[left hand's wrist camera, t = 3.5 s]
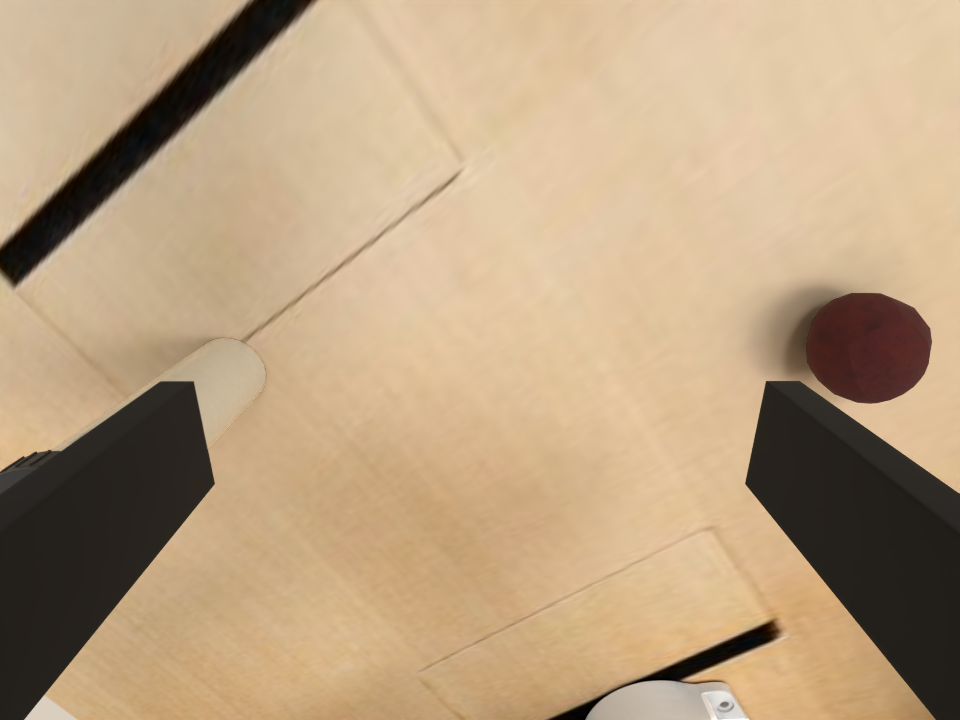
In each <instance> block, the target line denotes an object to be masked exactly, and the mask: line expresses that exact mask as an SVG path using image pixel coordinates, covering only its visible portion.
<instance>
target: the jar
mask: <svg viewBox="0 0 960 720" xmlns="http://www.w3.org/2000/svg"><path fill="white" fill-rule="evenodd" d="M160 381H194V384H195V389H196V394H197V399H198V404H199V409H200V414H201V419H202V424H203V429H204V433H205V438H206V443H207V448H208V449H209V448H210V447H211V446H212V445H213V444H214V443H215V442H216V440H217V439H218V438H219V437H220V436H221V435H222V434H223V433H224V432H225V431H226V430H227V429H228V428H229V426H230V425H231V424H232V423H233V422H234V421H235V420H236V419H237V418H238V417H239V416H240V415H241V413H242V412H243V411H244V410H245V409H246V408H247V407H248V406H249V405H250V404H251V403H252V402H253V401H254V399H255V398H256V397H257V396H258V395H259V394H260V393H261V391H262V390H263V388H264V386H265V382H266V370H265V366H264V364H263V361H262V360H261V358H260V356H259V355H258V354H257V353H256V352H255V351H254V350H253V349H252V348H251V347H250V346H248V345H247V344H245V343H243V342H241V341H238V340H234V339H229V338H220V339H215V340H212V341H210V342H208V343H206V344H205V345H203V346H202V347H200V348H199V349H197V350H196V351H194V352H193V353H191V354H190V355H189V356H187V357H186V358H184V359H183V360H181V361H180V362H178V363H177V364H175V365H174V366H172V367H171V368H170V369H168V370H167V371H165V372H164V373H162V374H161V375H159V376H158V377H156V378H155V379H154V380H152V381H151V382H149V383H148V384H146V385H145V386H143V387H142V388H140V389H139V390H137V391H136V392H135V393H133V394H132V395H130V396H129V397H127V398H126V399H124V400H123V401H121V402H120V403H118V404H117V405H116V406H114V407H113V408H111V409H110V410H108V411H107V412H105V413H104V414H102V415H101V416H99V417H98V418H97V419H95V420H94V421H92V422H91V423H89V424H88V425H86V426H85V427H83V428H82V429H80V430H79V431H78V432H76V433H75V434H73V435H72V436H70V437H69V438H67V439H66V440H64V441H63V442H61V443H60V444H59V445H57V446H56V447H54V448H53V449H51V451H62V450H64V449H65V448H66V447H68V446H69V445H71V444H72V443H73V442H75V441H76V440H78V439H79V438H81V437H82V436H83V435H85V434H86V433H88V432H89V431H90V430H92V429H93V428H95V427H96V426H98V425H99V424H100V423H102V422H103V421H105V420H106V419H108V418H109V417H110V416H112V415H113V414H115V413H116V412H117V411H119V410H120V409H122V408H123V407H125V406H126V405H127V404H129V403H130V402H132V401H133V400H134V399H136V398H137V397H139V396H140V395H142V394H143V393H144V392H146V391H147V390H149V389H150V388H152V387H153V386H154V385H156V384H157V383H159V382H160Z"/></svg>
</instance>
